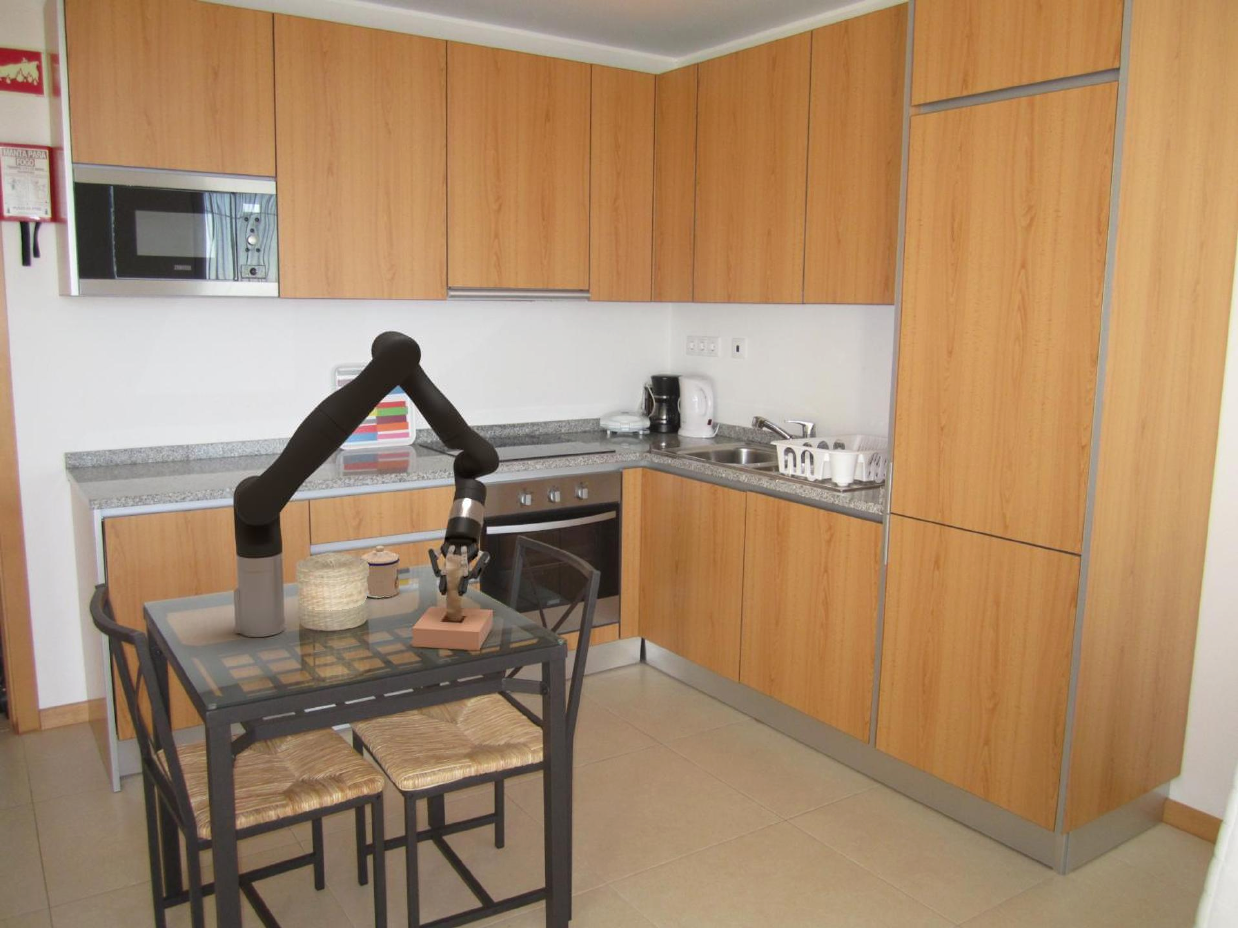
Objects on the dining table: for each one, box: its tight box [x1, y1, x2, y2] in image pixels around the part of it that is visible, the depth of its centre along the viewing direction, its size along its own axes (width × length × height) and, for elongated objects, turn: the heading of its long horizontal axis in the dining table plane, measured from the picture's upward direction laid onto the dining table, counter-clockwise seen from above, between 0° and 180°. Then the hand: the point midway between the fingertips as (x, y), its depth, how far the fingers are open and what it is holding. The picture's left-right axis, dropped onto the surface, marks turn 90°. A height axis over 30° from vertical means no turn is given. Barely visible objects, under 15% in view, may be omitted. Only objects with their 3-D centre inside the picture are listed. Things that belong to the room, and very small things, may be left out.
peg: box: [445, 555, 463, 623], centre depth 216 cm, size 3×3×14 cm
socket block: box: [411, 606, 494, 651], centre depth 217 cm, size 14×14×4 cm
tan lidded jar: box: [360, 545, 400, 597], centre depth 245 cm, size 12×9×12 cm
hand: (451, 593), depth 214 cm, fingers closed on peg, 3 cm apart
